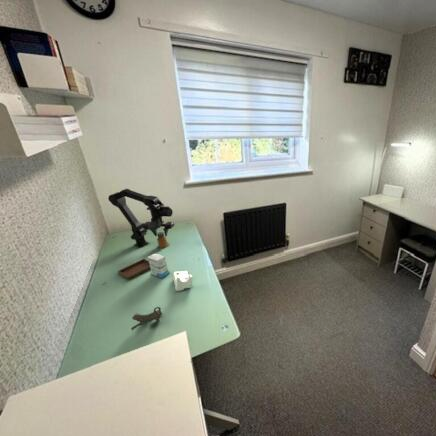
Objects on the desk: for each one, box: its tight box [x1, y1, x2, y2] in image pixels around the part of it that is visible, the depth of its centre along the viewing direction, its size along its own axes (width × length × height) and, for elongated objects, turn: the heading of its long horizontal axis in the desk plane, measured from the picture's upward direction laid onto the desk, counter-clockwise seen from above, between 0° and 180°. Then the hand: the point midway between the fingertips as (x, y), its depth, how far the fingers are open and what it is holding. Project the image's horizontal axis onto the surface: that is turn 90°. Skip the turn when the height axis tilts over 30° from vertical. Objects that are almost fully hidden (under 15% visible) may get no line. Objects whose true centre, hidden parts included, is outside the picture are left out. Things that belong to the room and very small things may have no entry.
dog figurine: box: [130, 306, 163, 331], centre depth 103 cm, size 12×6×7 cm, turn 114°
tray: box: [117, 258, 151, 281], centre depth 140 cm, size 11×15×2 cm
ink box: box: [147, 253, 169, 279], centre depth 135 cm, size 8×5×12 cm, turn 65°
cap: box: [157, 231, 165, 238], centre depth 162 cm, size 4×4×2 cm
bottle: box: [156, 235, 169, 249], centre depth 164 cm, size 6×6×9 cm
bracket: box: [172, 270, 193, 292], centre depth 129 cm, size 13×7×8 cm, turn 31°
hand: (161, 236), depth 163 cm, fingers open, 6 cm apart
